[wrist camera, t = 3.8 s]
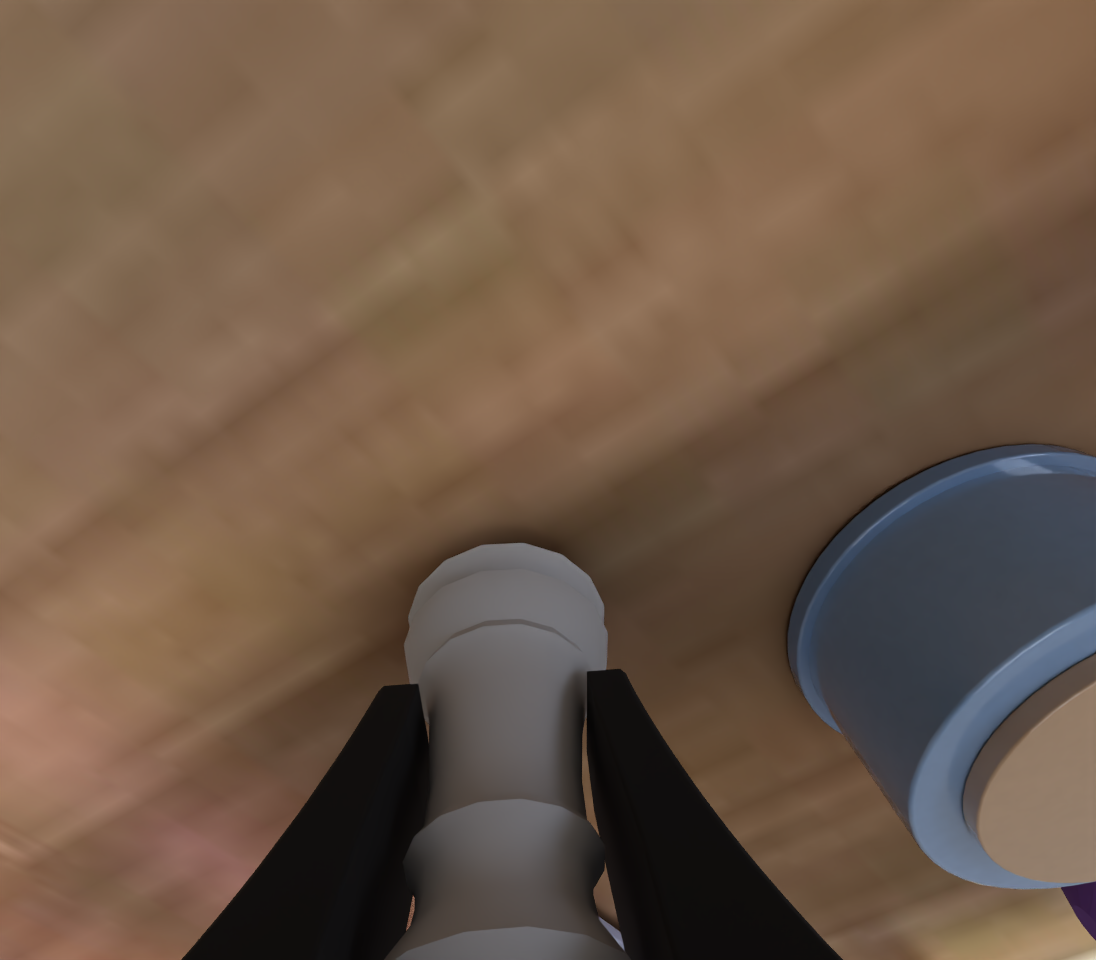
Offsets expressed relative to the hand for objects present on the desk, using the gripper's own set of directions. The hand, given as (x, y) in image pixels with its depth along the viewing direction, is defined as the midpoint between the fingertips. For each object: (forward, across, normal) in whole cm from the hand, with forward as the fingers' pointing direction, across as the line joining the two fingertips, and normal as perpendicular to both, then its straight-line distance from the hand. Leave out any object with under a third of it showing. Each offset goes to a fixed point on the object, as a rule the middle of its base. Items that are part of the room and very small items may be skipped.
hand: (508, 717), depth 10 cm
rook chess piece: (+3, 0, 0) cm, 3 cm away
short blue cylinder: (+4, -12, +1) cm, 13 cm away
